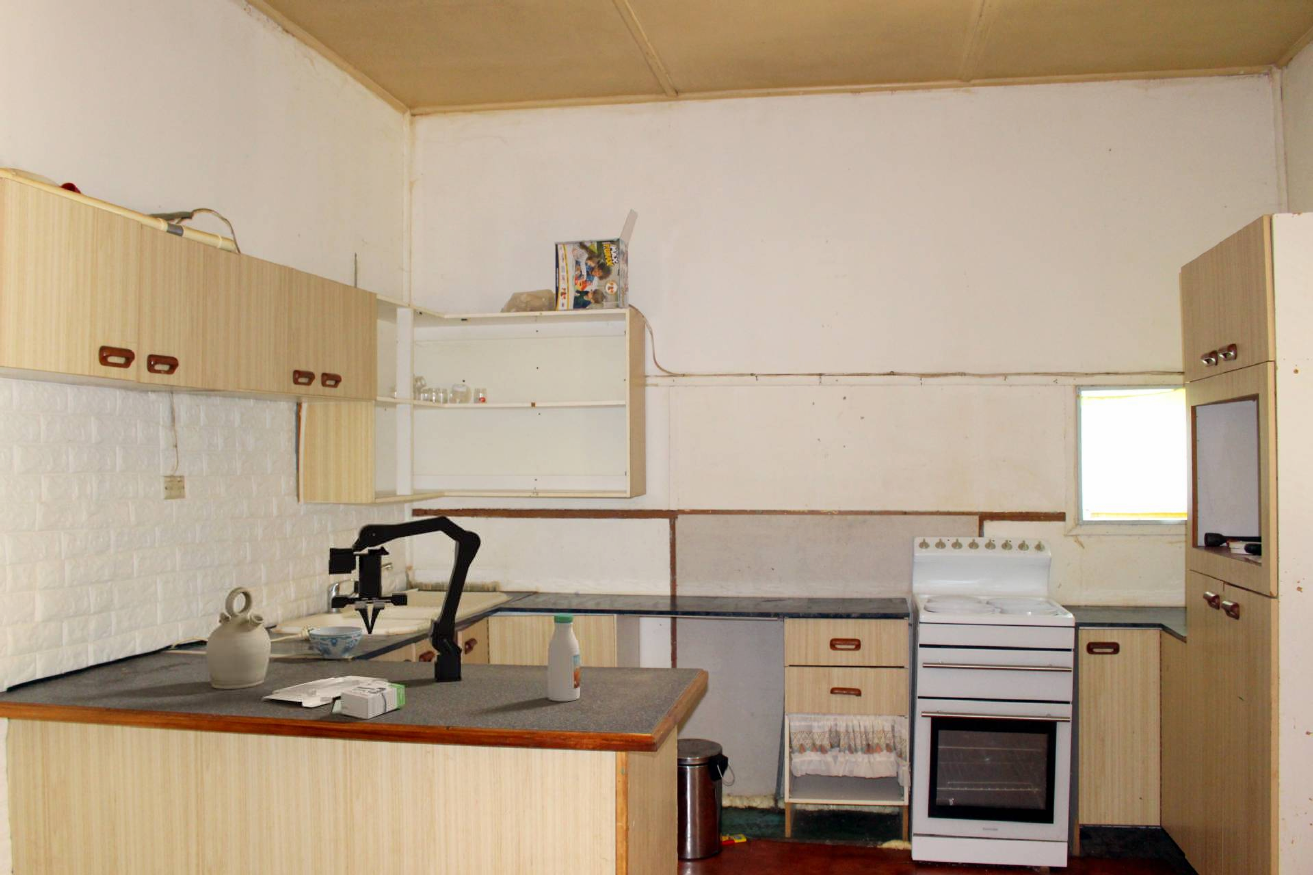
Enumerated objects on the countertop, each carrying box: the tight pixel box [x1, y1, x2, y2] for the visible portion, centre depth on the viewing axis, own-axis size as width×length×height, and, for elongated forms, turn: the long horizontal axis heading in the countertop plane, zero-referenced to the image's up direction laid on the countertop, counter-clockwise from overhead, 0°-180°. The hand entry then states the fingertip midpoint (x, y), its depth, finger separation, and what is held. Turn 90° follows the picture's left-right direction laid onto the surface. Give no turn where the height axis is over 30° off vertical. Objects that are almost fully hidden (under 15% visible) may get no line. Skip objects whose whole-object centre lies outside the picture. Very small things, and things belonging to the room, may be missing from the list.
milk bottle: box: [547, 613, 581, 702], centre depth 238 cm, size 8×8×20 cm
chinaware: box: [309, 625, 363, 659], centre depth 293 cm, size 15×15×8 cm
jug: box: [205, 586, 272, 690], centre depth 256 cm, size 15×16×25 cm
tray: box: [261, 675, 389, 708], centre depth 245 cm, size 20×28×4 cm
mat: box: [331, 699, 342, 715], centre depth 231 cm, size 12×12×1 cm
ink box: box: [340, 681, 406, 720], centre depth 225 cm, size 9×5×12 cm
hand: (369, 633), depth 254 cm, fingers closed
